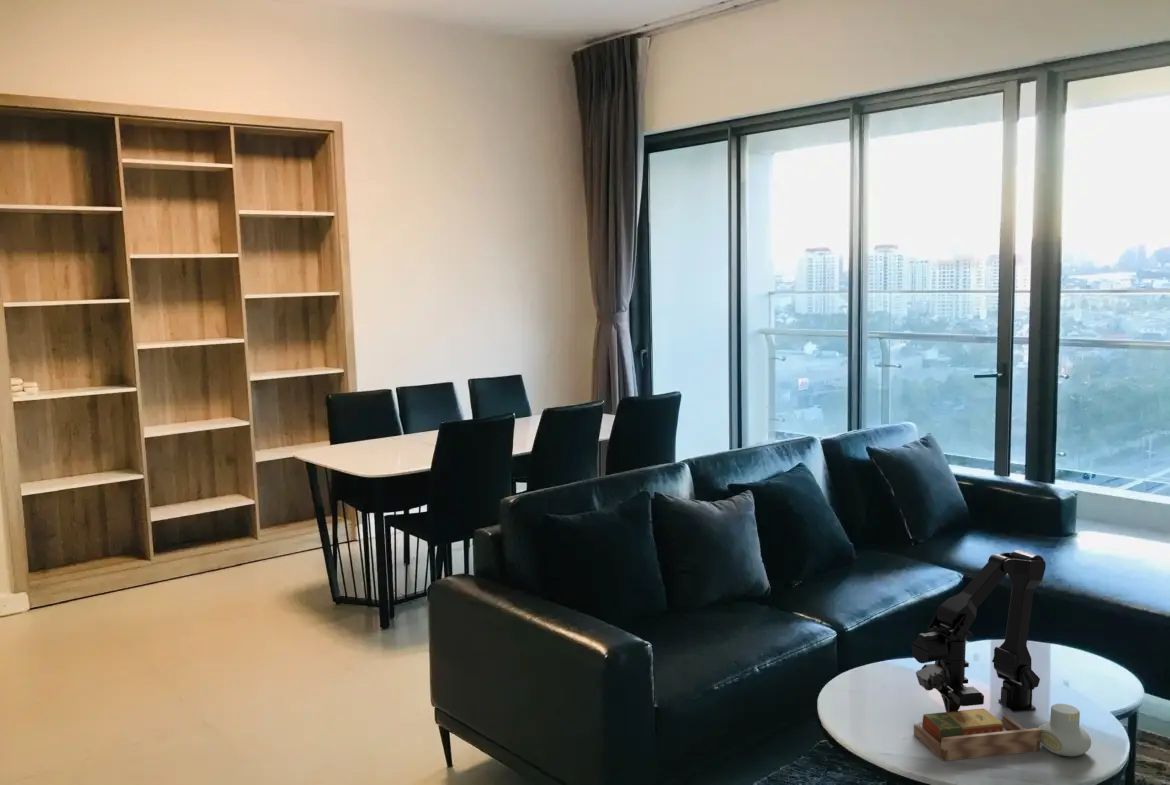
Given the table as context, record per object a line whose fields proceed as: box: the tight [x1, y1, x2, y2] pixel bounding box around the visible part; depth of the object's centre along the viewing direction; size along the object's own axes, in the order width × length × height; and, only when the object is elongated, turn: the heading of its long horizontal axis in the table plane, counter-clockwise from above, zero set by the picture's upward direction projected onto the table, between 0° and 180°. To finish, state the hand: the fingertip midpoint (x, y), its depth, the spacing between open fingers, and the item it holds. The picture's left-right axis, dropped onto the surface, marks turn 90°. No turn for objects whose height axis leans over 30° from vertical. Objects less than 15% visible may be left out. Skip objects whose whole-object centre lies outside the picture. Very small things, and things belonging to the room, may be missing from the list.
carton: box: [921, 708, 1004, 744], centre depth 226 cm, size 8×16×4 cm, turn 99°
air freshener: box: [1038, 703, 1092, 757], centre depth 217 cm, size 11×8×10 cm
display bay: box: [913, 714, 1042, 762], centre depth 221 cm, size 24×13×5 cm, turn 100°
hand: (950, 717), depth 232 cm, fingers closed
